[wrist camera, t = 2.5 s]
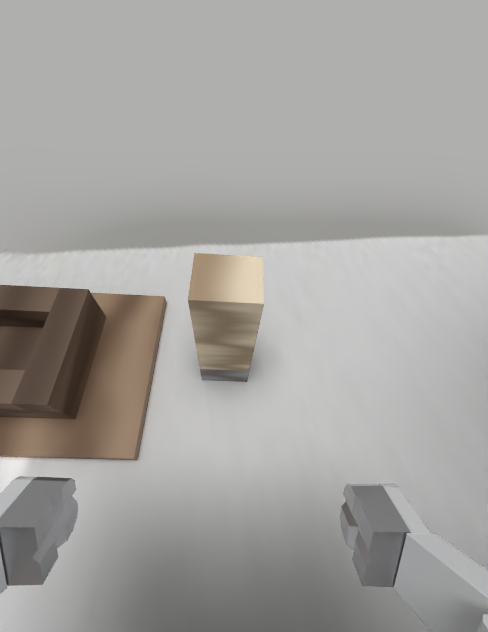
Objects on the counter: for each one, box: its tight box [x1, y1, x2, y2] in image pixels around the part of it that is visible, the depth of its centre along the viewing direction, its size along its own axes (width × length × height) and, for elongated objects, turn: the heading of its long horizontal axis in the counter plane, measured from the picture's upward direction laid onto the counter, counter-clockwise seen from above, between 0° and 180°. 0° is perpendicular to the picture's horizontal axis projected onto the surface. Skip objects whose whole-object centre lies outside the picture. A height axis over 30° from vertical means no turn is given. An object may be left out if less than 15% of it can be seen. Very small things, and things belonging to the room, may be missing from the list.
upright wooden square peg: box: [188, 253, 264, 382], centre depth 24 cm, size 4×4×14 cm
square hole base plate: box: [0, 285, 166, 460], centre depth 26 cm, size 22×16×6 cm
